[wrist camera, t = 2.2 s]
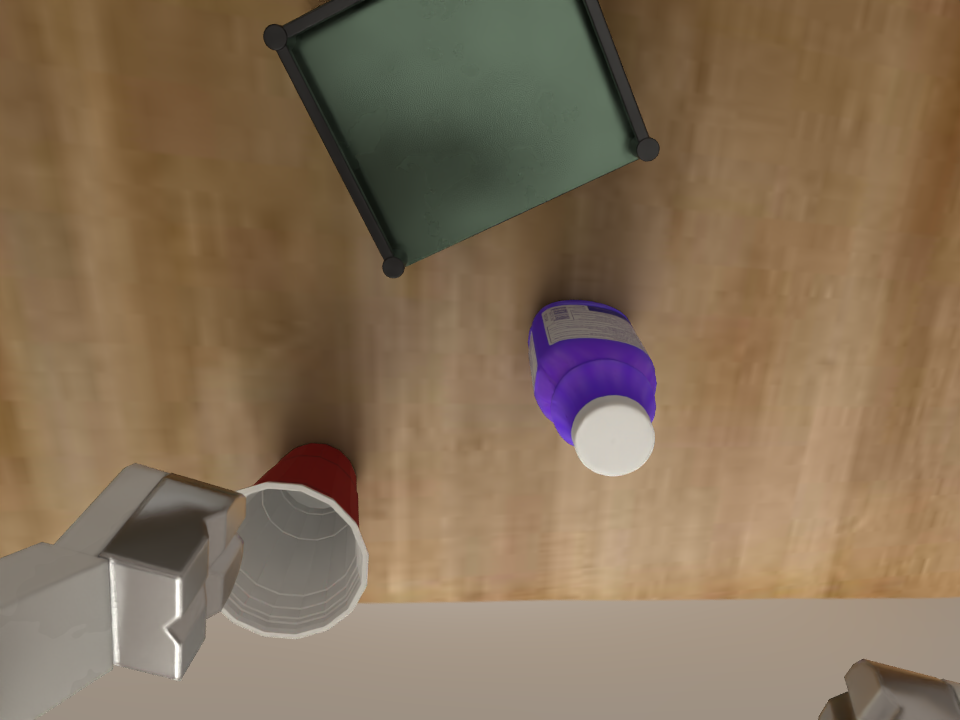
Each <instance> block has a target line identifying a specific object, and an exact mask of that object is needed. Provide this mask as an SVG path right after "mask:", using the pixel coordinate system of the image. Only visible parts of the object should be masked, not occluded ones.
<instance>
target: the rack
mask: <svg viewBox="0 0 960 720" xmlns="http://www.w3.org/2000/svg"><path fill="white" fill-rule="evenodd" d="M263 38H264V42H265V44H266V45H267V46H268V47H269V48H270V49H272V50H276V51H277V53H278V55H279V57H280V59H281V61H282V63H283V65H284V67H285V69H286V71H287V73H288V75H289V77H290V79H291V81H292V83H293V84H294V86H295V88H296V90H297V92H298V94H299V96H300V98H301V100H302V102H303V104H304V106H305V108H306V110H307V112H308V114H309V116H310V117H311V119H312V121H313V123H314V125H315V127H316V129H317V131H318V133H319V135H320V137H321V139H322V141H323V143H324V145H325V147H326V149H327V150H328V152H329V154H330V156H331V158H332V160H333V162H334V164H335V166H336V168H337V170H338V172H339V174H340V176H341V178H342V180H343V182H344V184H345V185H346V187H347V189H348V191H349V193H350V195H351V197H352V199H353V201H354V203H355V205H356V207H357V209H358V211H359V213H360V215H361V217H362V218H363V220H364V222H365V224H366V226H367V228H368V230H369V232H370V234H371V236H372V238H373V240H374V242H375V244H376V246H377V248H378V250H379V251H380V253H381V255H382V257H383V259H384V262H383V265H382V269H383V272H384V274H385V275H386V276H388V277H390V278H398V277H400V276H401V275H402V274H403V272H404V269H405V267H407V266H409V265H411V264H413V263H415V262H417V261H420V260H422V259H424V258H426V257H428V256H430V255H432V254H435V253H437V252H439V251H441V250H443V249H445V248H448V247H450V246H452V245H454V244H456V243H458V242H461V241H463V240H465V239H467V238H469V237H471V236H474V235H476V234H478V233H480V232H482V231H484V230H487V229H489V228H491V227H493V226H495V225H497V224H500V223H502V222H504V221H506V220H508V219H510V218H513V217H515V216H517V215H519V214H521V213H523V212H525V211H528V210H530V209H532V208H534V207H536V206H538V205H541V204H543V203H545V202H547V201H549V200H551V199H554V198H556V197H558V196H560V195H562V194H564V193H567V192H569V191H571V190H573V189H575V188H577V187H580V186H582V185H584V184H586V183H588V182H590V181H593V180H595V179H597V178H599V177H601V176H603V175H606V174H608V173H610V172H612V171H614V170H616V169H618V168H621V167H623V166H625V165H627V164H629V163H631V162H634V161H636V160H638V159H641V160H643V161H652V160H654V159H655V158H656V157H657V156H658V154H659V150H660V147H659V144H658V142H657V141H656V140H655V139H653V138H651V137H649V135H648V132H647V130H646V127H645V124H644V122H643V119H642V117H641V114H640V111H639V109H638V106H637V103H636V101H635V98H634V95H633V93H632V90H631V87H630V85H629V82H628V79H627V77H626V74H625V71H624V69H623V66H622V63H621V61H620V58H619V55H618V53H617V50H616V47H615V45H614V42H613V39H612V37H611V34H610V31H609V29H608V26H607V23H606V21H605V18H604V15H603V13H602V10H601V7H600V5H599V2H598V0H331V1H329V2H327V3H325V4H323V5H321V6H319V7H317V8H315V9H313V10H312V11H310V12H308V13H306V14H304V15H302V16H300V17H298V18H296V19H294V20H292V21H291V22H289V23H287V24H285V25H283V26H281V25H277V24H272V25H269V26H268V27H267V28H266V29H265V31H264V34H263Z"/></svg>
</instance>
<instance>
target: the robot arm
mask: <svg viewBox="0 0 960 720" xmlns="http://www.w3.org/2000/svg"><path fill="white" fill-rule="evenodd" d="M245 517H246V497H245V496H244V495H243V494H242V493H239V492H235V491H232V490H229V489H225V488H222V487H218V486H215V485H211V484H208V483H205V482H201V481H198V480H194V479H191V478H188V477H184V476H181V475H177V474H174V473H171V474H170V473H167V472H164V471H160V470H157V469H154V468H151V467H147V466H144V465H141V464H137V463H134V464H132V465H130V466H127V467H125V468H124V469H123V470H122V471H121V472H120V473H119V474H118V475H117V476H116V477H115V478H114V479H113V481H112V482H111V483H110V484H109V485H108V486H107V487H106V488H105V489H104V490H103V491H102V493H101V494H100V495H99V496H98V497H97V498H96V499H95V500H94V501H93V502H92V503H91V504H90V506H89V507H88V508H87V509H86V510H85V511H84V512H83V513H82V514H81V515H80V516H79V518H78V519H77V520H76V521H75V522H74V523H73V524H72V525H71V526H70V527H69V528H68V529H67V531H66V532H65V533H64V534H63V535H62V536H61V537H60V538H59V539H58V540H57V541H56V543H55V544H54V545H52V544H48V543H44V542H41V543H38V544H36V545H33V546H30V547H28V548H25V549H23V550H20V551H18V552H15V553H13V554H10V555H7V556H5V557H2V558H0V720H36V719H37V718H38V717H40V716H41V715H43V714H45V713H46V712H48V711H49V710H51V709H52V708H54V707H56V706H57V705H59V704H60V703H62V702H63V701H65V700H66V699H68V698H69V697H71V696H72V695H74V694H76V693H77V692H79V691H80V690H82V689H83V688H85V687H86V686H88V685H89V684H91V683H92V682H94V681H96V680H97V679H99V678H100V677H102V676H103V675H105V674H106V673H108V672H109V671H111V670H112V669H113V665H116V666H121V667H125V668H129V669H133V670H137V671H141V672H145V673H149V674H153V675H157V676H162V677H166V678H170V679H174V680H178V681H181V679H182V677H183V675H184V674H185V672H186V670H187V669H188V667H189V665H190V663H191V662H192V660H193V659H194V657H195V655H196V653H197V652H198V650H199V648H200V646H201V645H202V643H203V641H204V640H205V634H206V619H207V618H209V617H211V616H213V615H215V614H217V613H219V612H221V610H222V609H223V607H224V605H225V603H226V601H227V600H228V598H229V596H230V594H231V592H232V589H233V587H234V584H235V582H236V579H237V576H238V574H239V571H240V566H241V562H242V557H243V547H244V541H243V540H242V538H241V537H240V535H239V534H238V532H237V530H238V528H239V527H240V525H241V524H242V522H243V520H244V519H245ZM844 678H845V681H846V685H847V688H848V692H845V693H843V694H840V695H838V696H836V697H833V698H831V699H829V700H828V702H827V704H826V705H825V707H824V709H823V710H822V712H821V714H820V715H819V718H818V720H960V683H956V682H953V681H949V680H944V679H938V678H936V677H932V676H928V675H924V674H920V673H916V672H913V671H909V670H904V669H900V668H897V667H893V666H889V665H885V664H881V663H877V662H873V661H870V660H866V659H862V660H860V661H858V662H856V663H855V664H853V665H852V667H851V668H850V669H849V671H848V672H847V674H846V675H845V677H844Z"/></svg>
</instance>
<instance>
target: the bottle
mask: <svg viewBox="0 0 960 720" xmlns="http://www.w3.org/2000/svg"><path fill="white" fill-rule="evenodd" d="M528 345H529V361H530V368H531V375H532V382H533V389H534V395H535V398H536V400H537V403H538V405H539V407H540V409H541V410H542V412H543V413H544V415H545V416H546V417H547V418H548V419H549V420H551V421H552V422H554V425H555V427H556V429H557V431H558V433H559V434H560V436H561V437H562V438H563V439H564V440H565V441H566V442H567V443H569V444H570V445H573V446H574V447H575V449H576V453H577V455H578V457H579V458H580V460H581V462H582V463H583V464H584V465H585V466H586V467H587V468H589V469H590V470H592V471H594V472H595V473H598V474H601V475H606V476H620V475H625V474H628V473H630V472H633V471H635V470H637V469H638V468H640V467H641V466H642V465H643V464H644V463H645V462H646V461H647V459H648V458H649V457H650V455H651V453H652V450H653V448H654V444H655V432H654V428H653V426H652V421H653V418H654V416H655V410H656V403H655V396H654V395H655V391H656V385H657V382H656V376H655V368H654V366H653V363H652V361H651V359H650V357H649V356H648V353H647V352H646V350H645V348H644V347H643V345H642V343H641V341H640V340H639V338H638V336H637V334H636V333H635V331H634V329H633V327H632V326H631V324H630V322H629V320H628V318H627V317H626V316H625V315H624V314H623V313H622V312H620V311H619V310H617V309H615V308H613V307H610V306H608V305H604V304H601V303H597V302H592V301H584V300H563V301H557V302H553V303H551V304H548V305H546V306H545V307H543V308H542V309H541V310H540V311H539V312H538V313H537V315H536V316H535V318H534V320H533V323H532V327H531V328H530V331H529V339H528Z"/></svg>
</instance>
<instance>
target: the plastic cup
mask: <svg viewBox="0 0 960 720" xmlns="http://www.w3.org/2000/svg"><path fill="white" fill-rule="evenodd" d="M235 492H239V493H242V494H243V495H244V496H245V497H246V517H245V519H244V520H243V522H242V524H241V525H240V527H239V528H238V530H237V532H238V534H239V535H240V537H241V538H242V540H243V541H244V547H243V557H242V562H241V566H240V571H239V574H238V576H237V579H236V582H235V584H234V587H233V589H232V592H231V594H230V596H229V598H228V600H227V601H226V603H225V605H224V607H223V609H222V610H221V612H222V613H223V614H224V615H225V616H226V617H227V618H228V619H229V620H230V621H231V622H232V623H234V624H236V625H238V626H241V627H243V628H245V629H248V630H250V631H252V632H254V633H257V634H259V635H261V636H265V637H277V638H289V639H299V638H302V637H306V636H310V635H313V634H317V633H320V632H324V631H328V630H329V629H330V628H332V627H333V626H334V625H336V624H337V623H338V622H340V621H341V620H342V619H344V618H345V617H346V616H347V615H349V614H350V613H351V612H353V610H354V608H355V606H356V604H357V603H358V601H359V599H360V597H361V595H362V593H363V592H364V590H365V588H366V586H367V575H368V557H369V554H368V551H367V548H366V546H365V543H364V541H363V538H362V536H361V533H360V531H359V514H358V493H357V489H356V475H355V472H354V470H353V467H352V465H351V462H350V460H349V459H348V458H347V457H346V456H345V455H344V454H343V453H342V452H341V451H340V450H338V449H335V448H333V447H331V446H329V445H327V444H317V443H310V444H306V445H303V446H299V447H297V448H295V449H293V450H292V451H291V452H289V453H288V454H287V455H286V456H285V457H283V458H282V459H281V460H280V461H279V462H278V463H277V464H276V465H275V466H274V467H273V468H271V469H270V470H269V471H268V472H267V473H266V474H265V475H264V476H262V477H261V478H260V479H259V480H258V481H257V482H256V483H255V484H254V485H253V486H251V487H248V488H244V489H241V490H237V491H235Z"/></svg>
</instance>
